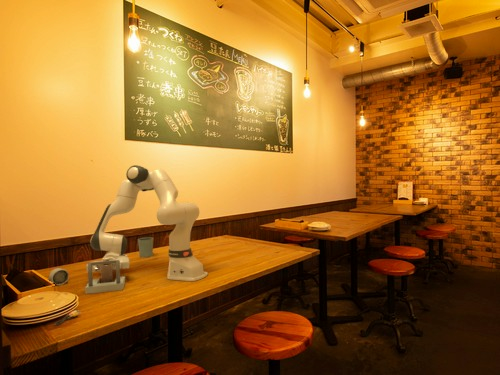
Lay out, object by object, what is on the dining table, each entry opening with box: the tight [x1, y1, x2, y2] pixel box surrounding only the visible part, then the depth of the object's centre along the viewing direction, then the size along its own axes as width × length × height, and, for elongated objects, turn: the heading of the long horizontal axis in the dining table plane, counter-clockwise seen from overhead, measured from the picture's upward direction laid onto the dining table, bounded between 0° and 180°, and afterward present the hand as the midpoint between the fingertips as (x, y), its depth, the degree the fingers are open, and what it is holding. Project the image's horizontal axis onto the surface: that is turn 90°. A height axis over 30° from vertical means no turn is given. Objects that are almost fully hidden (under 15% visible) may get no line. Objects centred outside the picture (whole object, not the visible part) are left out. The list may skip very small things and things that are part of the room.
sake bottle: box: [100, 256, 114, 283], centre depth 154 cm, size 5×5×14 cm
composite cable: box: [53, 309, 82, 327], centre depth 118 cm, size 10×5×2 cm, turn 154°
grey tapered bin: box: [137, 237, 154, 258], centre depth 214 cm, size 10×10×12 cm
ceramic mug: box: [47, 267, 70, 286], centre depth 159 cm, size 11×8×8 cm
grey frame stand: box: [84, 260, 126, 295], centre depth 152 cm, size 12×16×14 cm
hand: (106, 269), depth 154 cm, fingers open, 8 cm apart
